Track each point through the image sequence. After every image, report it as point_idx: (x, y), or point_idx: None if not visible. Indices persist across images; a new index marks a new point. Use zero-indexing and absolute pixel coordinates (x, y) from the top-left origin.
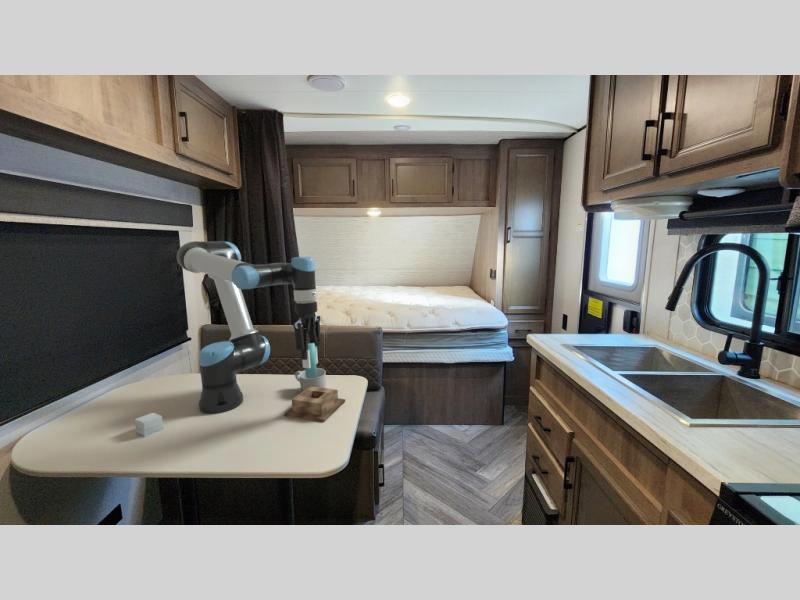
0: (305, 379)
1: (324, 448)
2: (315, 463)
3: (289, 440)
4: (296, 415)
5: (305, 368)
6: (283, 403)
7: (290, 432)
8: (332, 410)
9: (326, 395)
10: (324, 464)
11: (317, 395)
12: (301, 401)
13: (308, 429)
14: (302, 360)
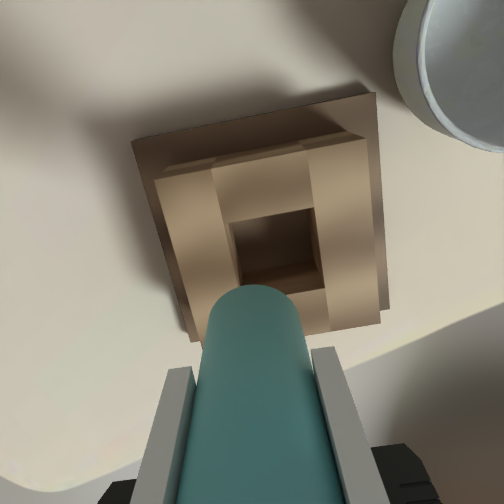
0: (416, 62)
1: (70, 429)
2: (4, 449)
3: (21, 311)
4: (152, 213)
5: (201, 362)
6: (233, 6)
7: (58, 275)
8: None
9: None
10: (19, 468)
11: (314, 227)
12: (173, 243)
13: (117, 319)
14: (150, 435)
